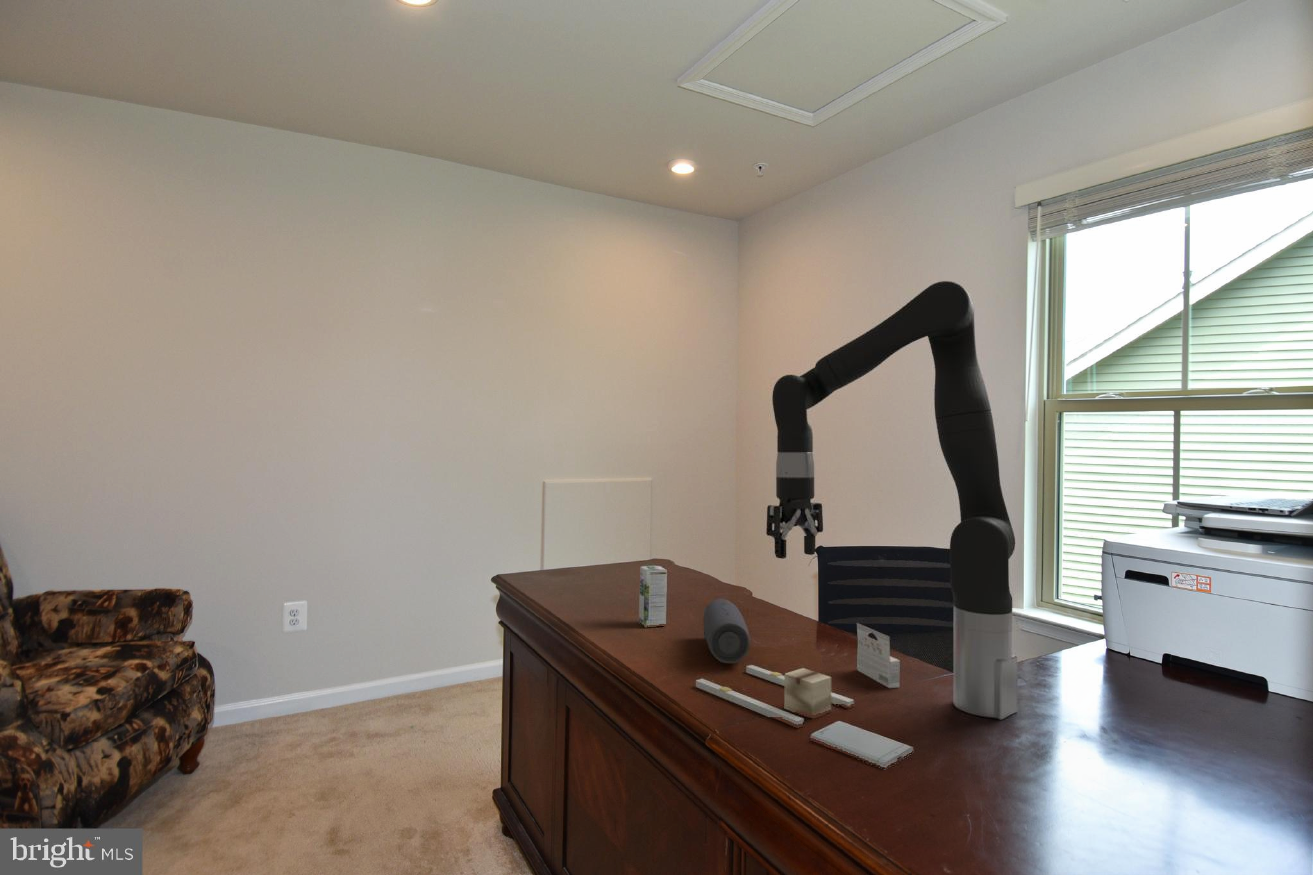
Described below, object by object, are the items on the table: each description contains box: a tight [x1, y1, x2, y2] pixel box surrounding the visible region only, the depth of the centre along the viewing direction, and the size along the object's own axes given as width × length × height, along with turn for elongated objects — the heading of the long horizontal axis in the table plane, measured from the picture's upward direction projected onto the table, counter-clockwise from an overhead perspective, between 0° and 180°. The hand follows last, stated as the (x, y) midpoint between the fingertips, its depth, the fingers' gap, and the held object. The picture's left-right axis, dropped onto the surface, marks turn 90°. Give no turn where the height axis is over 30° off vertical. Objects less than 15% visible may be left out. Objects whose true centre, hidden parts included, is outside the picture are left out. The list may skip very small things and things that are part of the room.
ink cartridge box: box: [856, 622, 901, 689], centre depth 132 cm, size 2×11×10 cm, turn 16°
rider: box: [783, 667, 832, 715], centre depth 116 cm, size 6×5×6 cm
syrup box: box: [638, 565, 668, 626], centre depth 171 cm, size 6×6×14 cm
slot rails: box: [695, 664, 855, 725], centre depth 122 cm, size 24×15×1 cm, turn 39°
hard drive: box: [810, 720, 914, 768], centre depth 102 cm, size 2×8×12 cm
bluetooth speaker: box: [702, 598, 751, 664], centre depth 148 cm, size 23×9×10 cm, turn 179°
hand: (795, 556), depth 135 cm, fingers open, 8 cm apart
